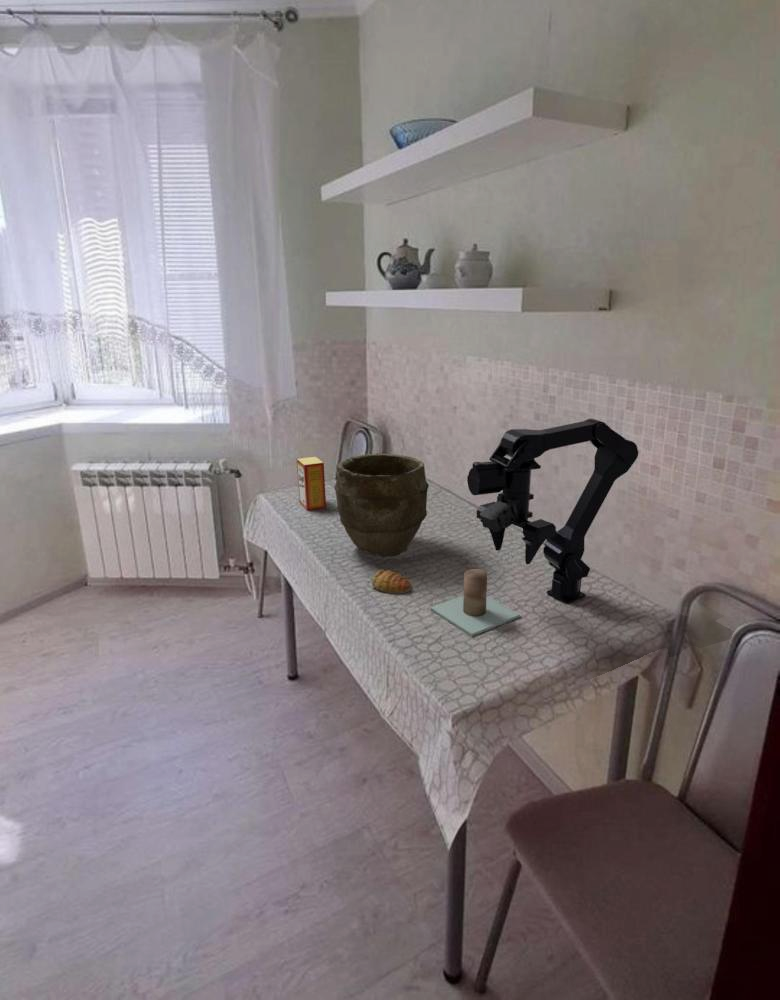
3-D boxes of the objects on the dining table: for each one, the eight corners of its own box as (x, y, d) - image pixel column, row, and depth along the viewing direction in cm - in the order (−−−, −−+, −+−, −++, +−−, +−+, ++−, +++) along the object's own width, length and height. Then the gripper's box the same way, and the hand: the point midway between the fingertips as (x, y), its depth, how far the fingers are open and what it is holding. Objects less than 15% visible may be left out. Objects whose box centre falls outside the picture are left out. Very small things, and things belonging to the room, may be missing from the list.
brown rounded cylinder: (475, 603, 140) (476, 567, 137) (490, 612, 136) (492, 575, 133) (458, 609, 137) (459, 572, 134) (473, 618, 133) (474, 581, 130)
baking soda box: (299, 502, 212) (296, 457, 207) (317, 499, 214) (315, 455, 209) (307, 510, 203) (304, 464, 198) (326, 508, 206) (323, 461, 201)
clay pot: (406, 526, 188) (405, 446, 180) (444, 556, 166) (445, 467, 158) (326, 539, 179) (322, 456, 171) (355, 573, 157) (351, 480, 149)
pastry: (416, 586, 150) (416, 572, 149) (403, 598, 145) (403, 583, 143) (383, 579, 155) (382, 565, 153) (369, 590, 149) (368, 575, 148)
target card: (477, 592, 146) (477, 590, 146) (520, 616, 135) (520, 614, 135) (430, 609, 139) (430, 607, 138) (471, 636, 128) (471, 633, 127)
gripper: (458, 486, 134) (457, 551, 139) (520, 508, 119) (516, 581, 124) (496, 477, 140) (493, 540, 145) (560, 498, 125) (554, 567, 130)
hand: (512, 556), depth 136 cm, fingers open, 9 cm apart
